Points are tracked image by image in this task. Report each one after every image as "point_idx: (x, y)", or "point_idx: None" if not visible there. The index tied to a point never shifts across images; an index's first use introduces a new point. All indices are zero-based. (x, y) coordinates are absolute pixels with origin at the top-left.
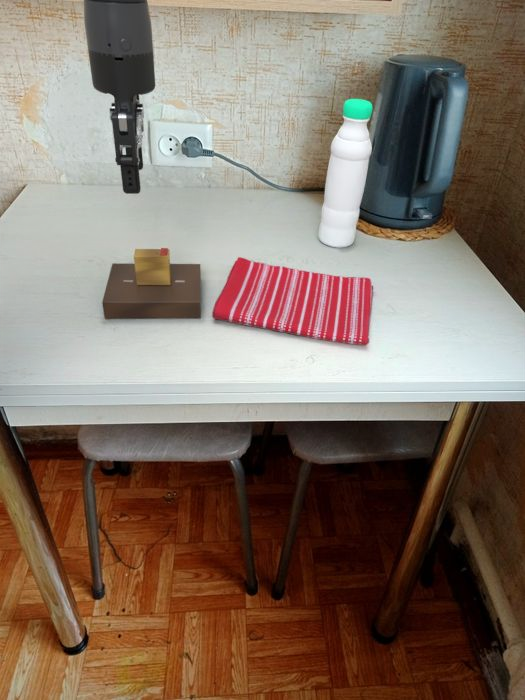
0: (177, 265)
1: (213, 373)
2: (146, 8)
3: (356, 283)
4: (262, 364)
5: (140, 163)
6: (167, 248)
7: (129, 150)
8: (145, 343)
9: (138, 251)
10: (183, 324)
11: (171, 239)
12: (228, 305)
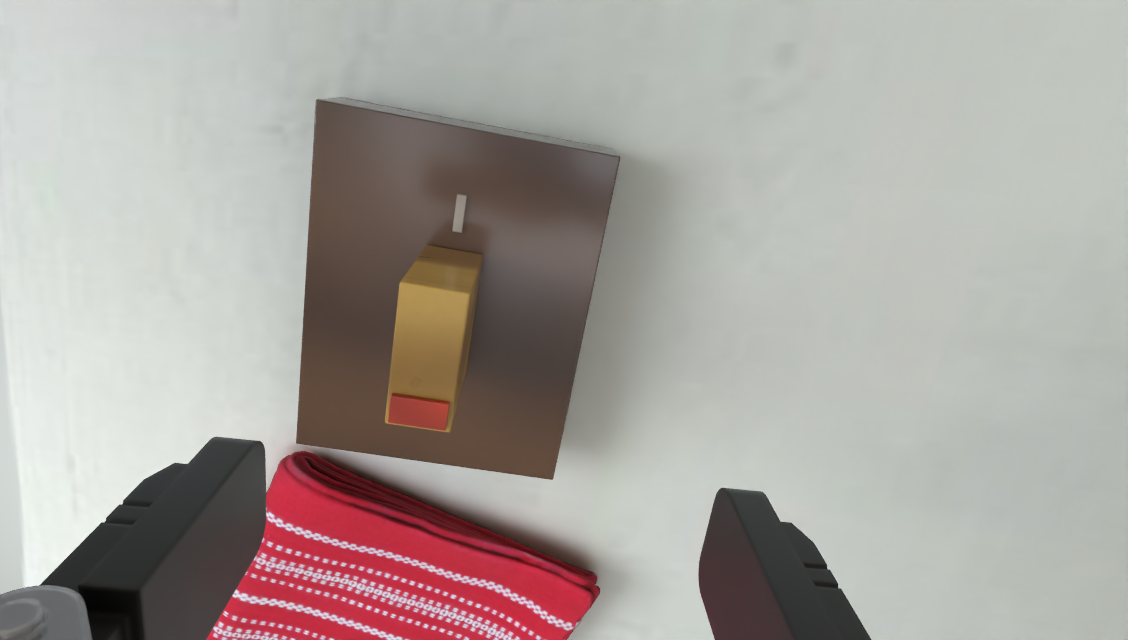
0: (555, 403)
1: (42, 403)
2: None
3: None
4: (88, 529)
5: (709, 600)
6: (442, 429)
7: (762, 618)
8: (189, 228)
9: (439, 306)
10: (290, 356)
11: (867, 387)
12: (299, 516)
